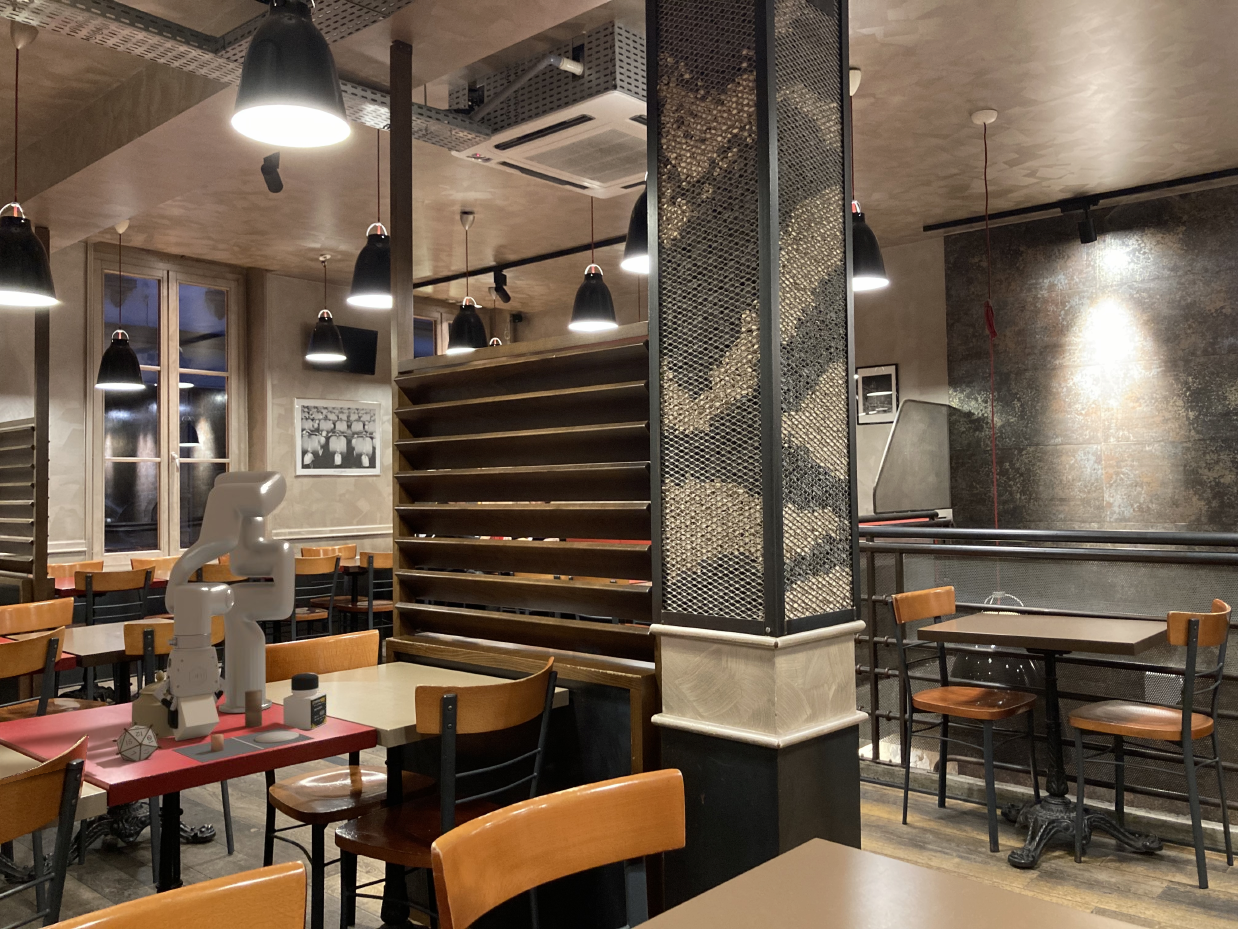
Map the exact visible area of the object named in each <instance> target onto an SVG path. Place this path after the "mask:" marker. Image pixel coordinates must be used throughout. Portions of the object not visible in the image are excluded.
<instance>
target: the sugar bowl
mask: <svg viewBox="0 0 1238 929" xmlns="http://www.w3.org/2000/svg"><path fill="white" fill-rule="evenodd" d="M165 675H166V674H165V673H164V672H163V671H162V670H158V671H157V672H156V674H155V676H154V678H155V680H156V682H152V683H149V684H148V685H145V686H144V687H143V688H142V689H140V690H139V691H138V693H139V694H140V696H139V697H138V698H137V699H135V700H133V701H132V703H131V727H133V726H135V725H134V723H135V721H136V722H137V725H140V726H147V727H150V725H151V724H153V727H151V728H152V730H153V732H154V734H156V733H158V736H156V739H157V740H159V739H165V738H169V737H175V736H174V732H173V728H170V727H169V725H168V709H166V707H165V706H163V705H162V704H161V703H160V702H159V701H158V700H157V699H156V698H155V697H154V696H153V692H154V691H155V690H156V689H157V688H159V687H160V686H161V685H162V684H163V683H164V682H165V681H166V680H165V681H164V679H166V676H165ZM163 695H164V696H165V698H167V697H168V694H167V693H166V691H165V692H164V693H163Z"/></svg>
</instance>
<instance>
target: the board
mask: <svg viewBox="0 0 1238 929" xmlns="http://www.w3.org/2000/svg"><path fill="white" fill-rule="evenodd" d="M314 739H316V738H315V737H311V736H309V735H305V734H301V733H299V732H297V731H293V730H290V729H286V728H283V727H280V728H279V727H278V728H274V729H273V728H272V729H269V730H267V729H266V730H263V731H258V732H253V733H248V734H244V735H238V736H234V737H233V736H231V737H229V738H224V734H222V733H217V734H216V733H215V734H212V735H211V736H210V741H209V742H204V743H198V744H193V745H188V746H183V747H179V748H173V749H172V751H173V752H175V753H178V754H180V755H182V756H184V757H187V758H190V759H192V760H195V761H197V762H200V763H209V762H213V761H217V760H221V759H226V758H227V759H228V758H230V757H231V758H232V757H235V756H240V755H244V754H250V753H255V752H260V751H265V750H269V749H274V748H277V747H282V746H287V745H292V744H296V743H300V742H305V741H311V740H314Z"/></svg>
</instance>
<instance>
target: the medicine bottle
mask: <svg viewBox="0 0 1238 929" xmlns="http://www.w3.org/2000/svg"><path fill="white" fill-rule="evenodd" d="M319 681H320V680H319V675H318V674H317V673H314V672H302V673H296V674H294V675H293V676H292V677H291V679H290V684H291V685H290V686H291V687H290V688H291V691H290V692H291V695H288V696H286V697H285V696H284V698H283V700H282V701H283V702H282V703H283V704H282V705H283V706H282V707H283V726H287V727H291V728H292V729H293V728H294V729H297V730H302V731H304V730H305V731H311V730H314V729H316V728H319V727H320V726H322V725H324V724H326V723H327V693H326V692H322V691H321V692H319V690H320V689H319V688H320V687H319V685H320V684H319Z"/></svg>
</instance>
